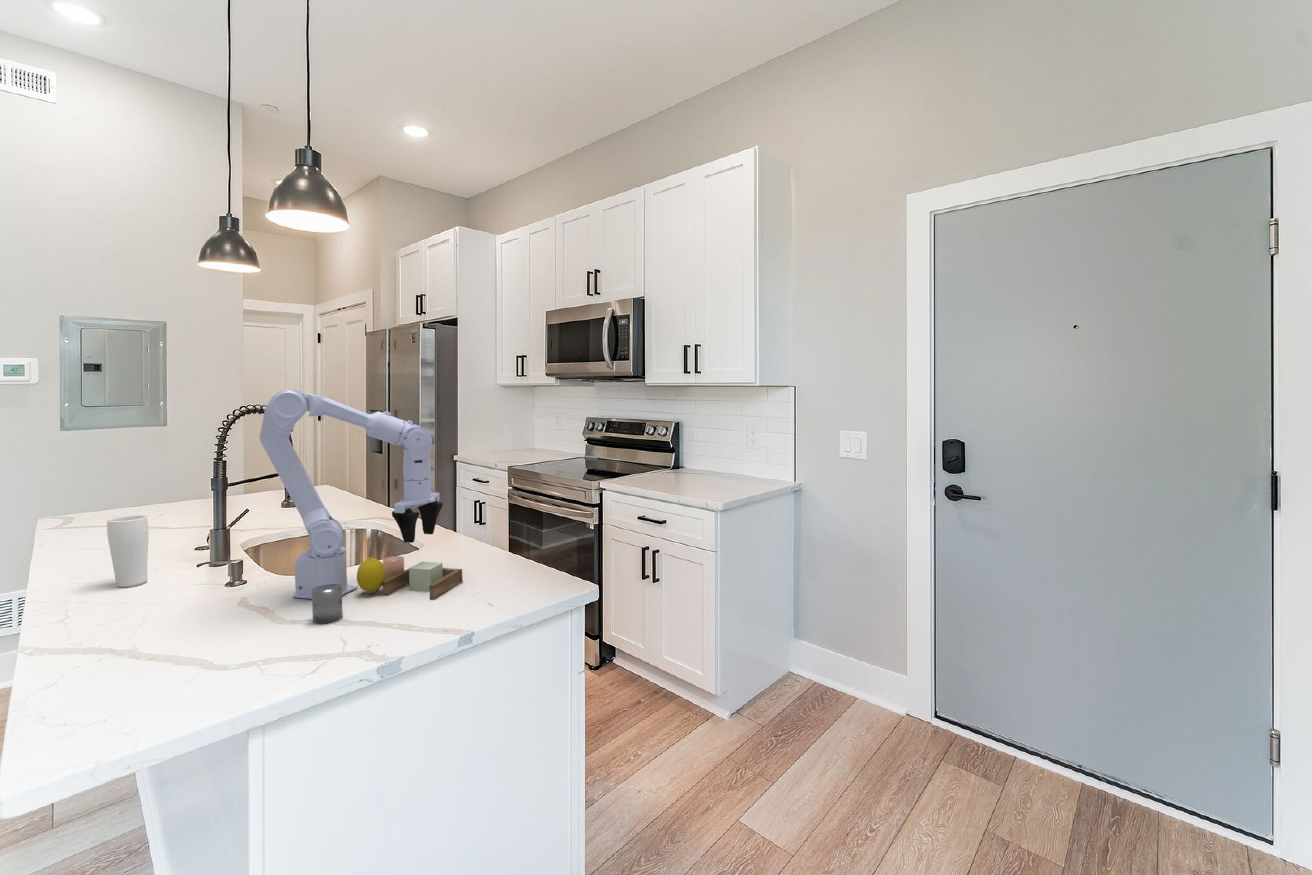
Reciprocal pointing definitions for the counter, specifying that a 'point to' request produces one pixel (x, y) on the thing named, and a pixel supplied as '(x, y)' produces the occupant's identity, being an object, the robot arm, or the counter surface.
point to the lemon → (371, 575)
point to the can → (327, 604)
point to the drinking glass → (129, 549)
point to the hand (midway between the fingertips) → (419, 537)
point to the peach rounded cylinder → (393, 566)
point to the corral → (436, 589)
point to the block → (424, 575)
